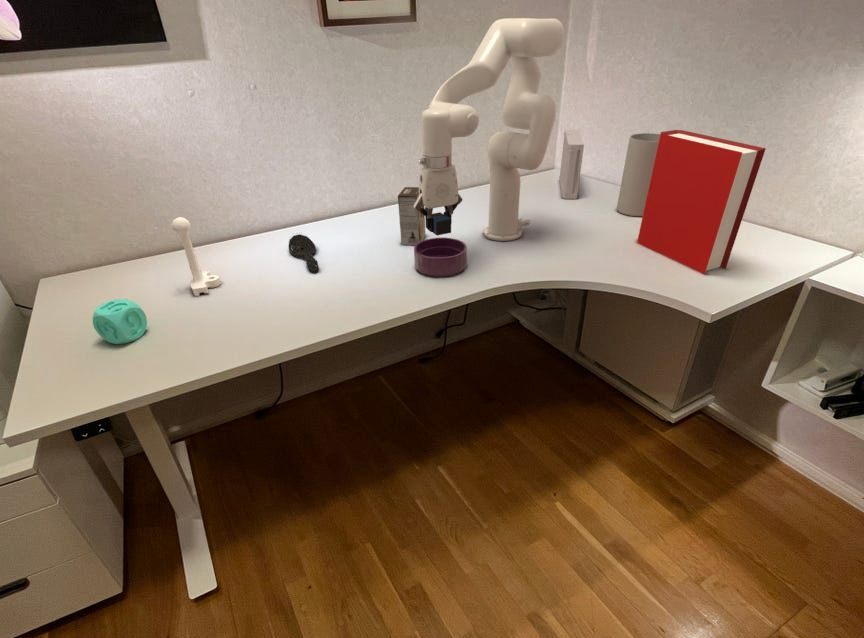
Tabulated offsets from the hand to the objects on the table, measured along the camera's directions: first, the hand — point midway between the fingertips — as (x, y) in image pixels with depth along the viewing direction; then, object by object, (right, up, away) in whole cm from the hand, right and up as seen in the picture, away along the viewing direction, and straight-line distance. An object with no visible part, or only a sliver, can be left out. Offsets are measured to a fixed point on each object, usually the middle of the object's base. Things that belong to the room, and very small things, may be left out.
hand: (438, 228), depth 141 cm
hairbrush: (-41, -5, +15) cm, 44 cm away
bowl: (+1, -10, +7) cm, 12 cm away
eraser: (0, 0, 0) cm, 1 cm away
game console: (+54, +33, +64) cm, 90 cm away
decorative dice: (-76, -31, -20) cm, 85 cm away
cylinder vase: (+71, +17, +40) cm, 84 cm away
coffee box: (-8, +2, +25) cm, 26 cm away
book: (+72, -6, +9) cm, 72 cm away
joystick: (-66, -16, +1) cm, 68 cm away
